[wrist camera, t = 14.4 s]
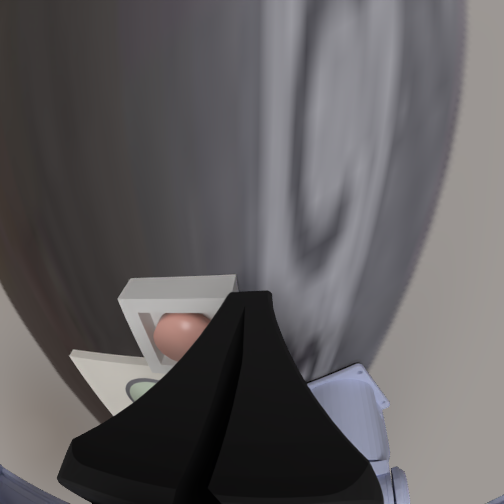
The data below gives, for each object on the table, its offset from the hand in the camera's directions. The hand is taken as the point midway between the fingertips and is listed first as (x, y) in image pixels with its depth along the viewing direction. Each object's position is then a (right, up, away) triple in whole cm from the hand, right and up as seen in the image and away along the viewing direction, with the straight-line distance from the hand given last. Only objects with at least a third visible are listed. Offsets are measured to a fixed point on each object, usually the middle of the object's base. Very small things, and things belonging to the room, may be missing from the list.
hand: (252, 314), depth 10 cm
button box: (-5, -3, +13) cm, 14 cm away
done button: (-5, -4, +12) cm, 13 cm away
